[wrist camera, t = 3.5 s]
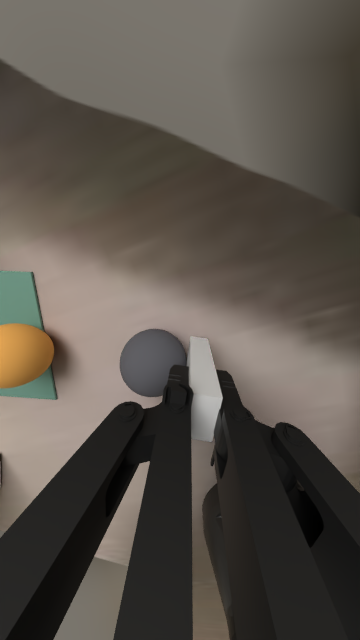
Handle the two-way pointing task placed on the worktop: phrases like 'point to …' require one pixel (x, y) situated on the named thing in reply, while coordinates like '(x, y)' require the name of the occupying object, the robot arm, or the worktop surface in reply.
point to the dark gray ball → (150, 361)
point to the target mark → (22, 307)
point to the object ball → (23, 354)
